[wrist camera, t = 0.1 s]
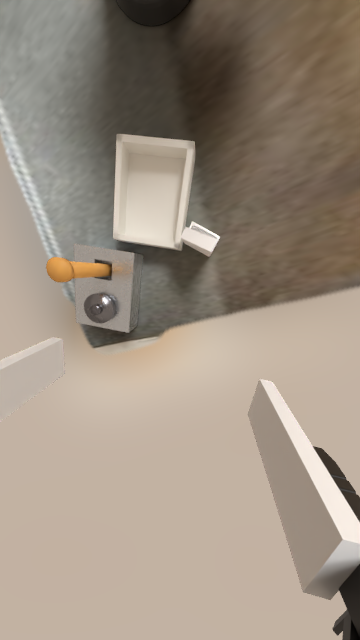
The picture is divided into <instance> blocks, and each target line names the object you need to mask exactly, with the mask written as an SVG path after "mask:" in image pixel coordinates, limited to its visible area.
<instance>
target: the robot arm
mask: <svg viewBox="0 0 360 640" xmlns="http://www.w3.org/2000/svg"><path fill="white" fill-rule="evenodd" d="M116 1H117V3H118V5H119V6H120V8H121V9H122V10H123V12H124V13H125V14H126V15H127V16H128V17H130V18H131V19H132V20H134V21H135V22H137V23H140V24H143V25H148V26H154V25H160V24H163V23H165V22H167V21H169V20H171V19H172V18H174V17H175V16H176V15H178V14H179V13H180V12H181V11H182V10H183V8H184V7H185V6H186V5H187V3H188V2H189V1H190V0H116ZM64 374H65V364H64V347H63V339H61V338H55V337H52V338H49V339H47V340H45V341H43V342H40V343H38V344H36V345H33V346H31V347H29V348H27V349H24V350H22V351H20V352H18V353H15V354H13V355H11V356H8V357H6V358H4V359H2V360H0V422H1V421H2V420H4V419H5V418H6V417H8V416H9V415H10V414H12V413H13V412H14V411H16V410H17V409H18V408H20V407H21V406H22V405H24V404H25V403H26V402H28V401H29V400H30V399H32V398H33V397H34V396H36V395H37V394H38V393H40V392H41V391H42V390H44V389H45V388H46V387H48V386H49V385H50V384H52V383H53V382H54V381H56V380H57V379H58V378H60V377H61V376H62V375H64ZM248 416H249V419H250V422H251V426H252V429H253V432H254V435H255V439H256V442H257V445H258V448H259V452H260V455H261V458H262V461H263V464H264V468H265V471H266V474H267V477H268V481H269V484H270V487H271V490H272V493H273V496H274V500H275V503H276V506H277V509H278V513H279V516H280V519H281V522H282V526H283V529H284V532H285V535H286V538H287V541H288V545H289V548H290V551H291V555H292V558H293V561H294V564H295V567H296V571H297V574H298V577H299V580H300V583H301V587H302V590H303V592H305V593H308V594H312V595H315V596H319V597H322V598H325V599H328V600H331V599H332V597H333V596H334V595H335V594H336V593H337V592H338V591H340V593H341V595H342V598H343V600H344V602H345V605H346V607H347V610H346V611H345V612H344V614H343V615H341V616H340V618H339V619H338V620H337V621H336V622H335V625H334V627H333V631H334V632H335V633H336V634H337V635H339V634H340V633H341V632H342V631H343V640H360V497H359V496H358V495H356V492H355V490H354V489H353V487H352V486H351V484H350V483H349V481H347V480H346V477H345V475H344V474H343V472H342V471H341V470H340V468H339V467H338V465H337V464H336V462H335V461H334V460H333V459H332V458H331V457H330V456H329V455H328V454H327V453H326V452H325V451H324V450H323V449H322V448H318V447H314V446H312V445H311V443H310V441H309V440H308V438H307V437H306V435H305V434H304V432H303V430H302V429H301V427H300V425H299V424H298V422H297V421H296V419H295V417H294V416H293V414H292V412H291V411H290V409H289V408H288V406H287V404H286V403H285V401H284V400H283V398H282V396H281V395H280V393H279V392H278V390H277V388H276V387H275V385H274V384H273V382H272V381H267V380H262V379H260V380H259V382H258V385H257V388H256V391H255V394H254V397H253V400H252V403H251V406H250V409H249V412H248Z"/></svg>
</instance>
